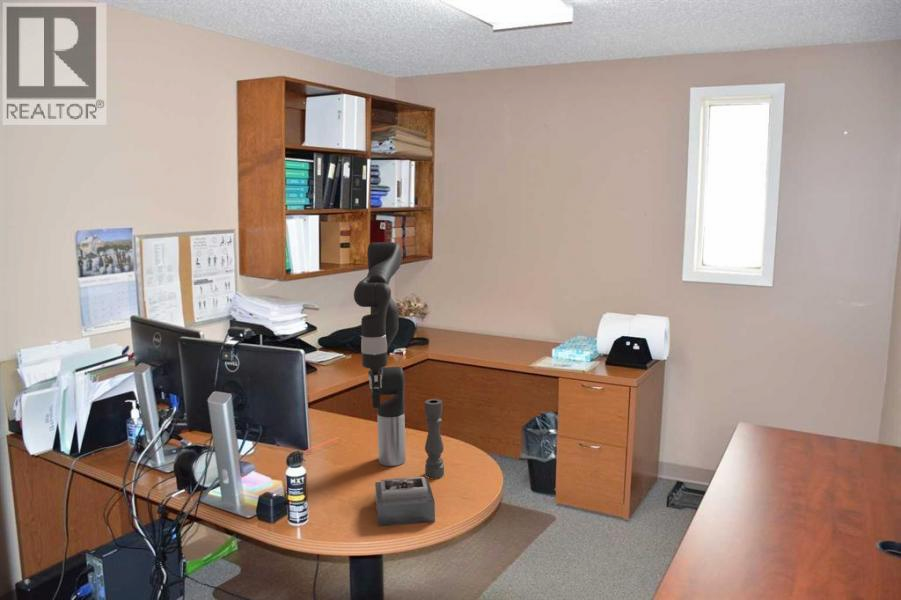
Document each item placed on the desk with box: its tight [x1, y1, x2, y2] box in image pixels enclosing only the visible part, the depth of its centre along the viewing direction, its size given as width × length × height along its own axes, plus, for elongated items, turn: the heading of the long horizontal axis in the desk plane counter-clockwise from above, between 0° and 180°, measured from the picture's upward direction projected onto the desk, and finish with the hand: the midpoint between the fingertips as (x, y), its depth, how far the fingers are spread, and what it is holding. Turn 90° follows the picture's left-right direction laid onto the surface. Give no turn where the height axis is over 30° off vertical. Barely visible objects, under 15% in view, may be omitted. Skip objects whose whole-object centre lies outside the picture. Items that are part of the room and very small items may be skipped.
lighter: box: [390, 479, 413, 489], centre depth 205 cm, size 8×3×10 cm, turn 85°
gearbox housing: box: [374, 476, 436, 527], centre depth 206 cm, size 16×16×8 cm
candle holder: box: [424, 398, 445, 479], centre depth 230 cm, size 6×6×25 cm
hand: (375, 403), depth 211 cm, fingers open, 8 cm apart
